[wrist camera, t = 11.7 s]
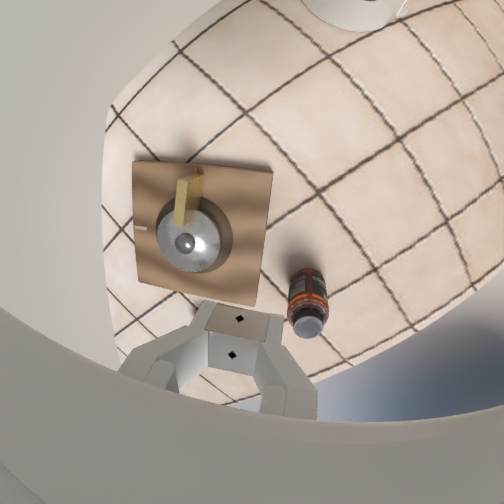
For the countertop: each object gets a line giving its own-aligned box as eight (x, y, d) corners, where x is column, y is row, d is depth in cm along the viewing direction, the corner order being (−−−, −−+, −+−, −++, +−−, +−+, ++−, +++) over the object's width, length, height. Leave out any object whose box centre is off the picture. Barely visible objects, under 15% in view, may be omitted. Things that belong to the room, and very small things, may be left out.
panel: (138, 160, 40) (131, 162, 38) (273, 172, 38) (272, 174, 36) (143, 276, 49) (138, 282, 47) (256, 300, 47) (254, 307, 45)
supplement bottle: (283, 289, 45) (277, 334, 35) (300, 261, 43) (299, 302, 32) (313, 303, 45) (314, 349, 35) (332, 277, 43) (339, 320, 33)
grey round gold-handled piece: (217, 273, 43) (206, 293, 38) (161, 257, 44) (144, 274, 38) (233, 180, 36) (221, 188, 31) (168, 168, 37) (148, 174, 32)
